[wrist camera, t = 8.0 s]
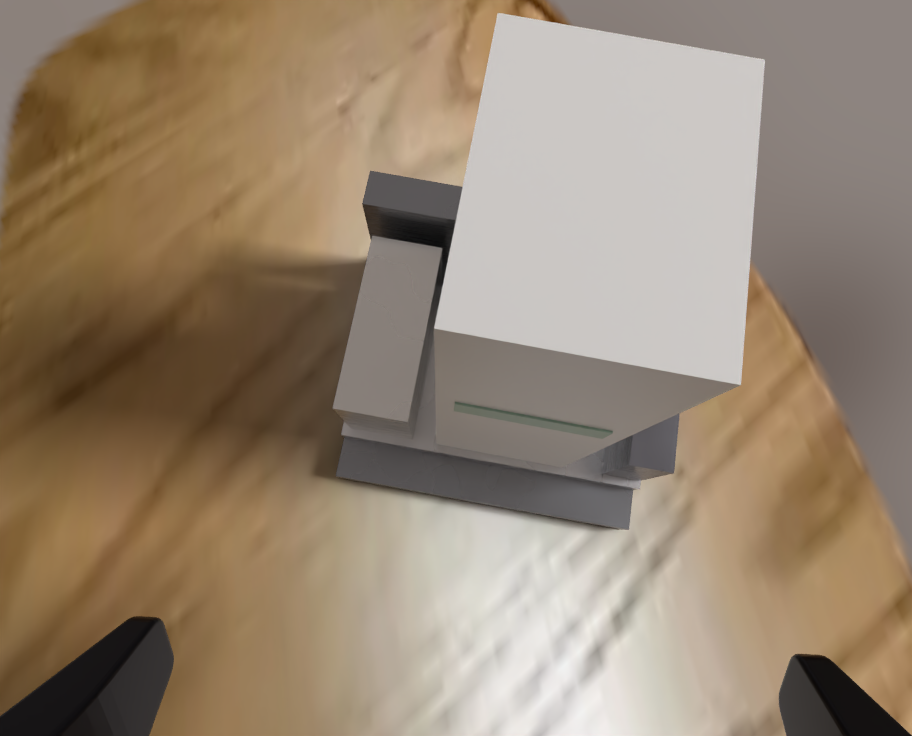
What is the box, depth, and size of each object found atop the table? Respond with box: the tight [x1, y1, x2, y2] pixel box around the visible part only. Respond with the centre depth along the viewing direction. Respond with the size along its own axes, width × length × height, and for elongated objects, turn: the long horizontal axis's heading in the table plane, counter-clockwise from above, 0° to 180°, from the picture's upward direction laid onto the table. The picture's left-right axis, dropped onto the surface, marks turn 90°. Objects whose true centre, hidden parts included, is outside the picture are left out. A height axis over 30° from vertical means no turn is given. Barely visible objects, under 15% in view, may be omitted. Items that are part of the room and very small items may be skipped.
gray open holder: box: [333, 171, 679, 530], centre depth 19 cm, size 8×10×6 cm
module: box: [434, 13, 765, 468], centre depth 15 cm, size 5×4×12 cm
